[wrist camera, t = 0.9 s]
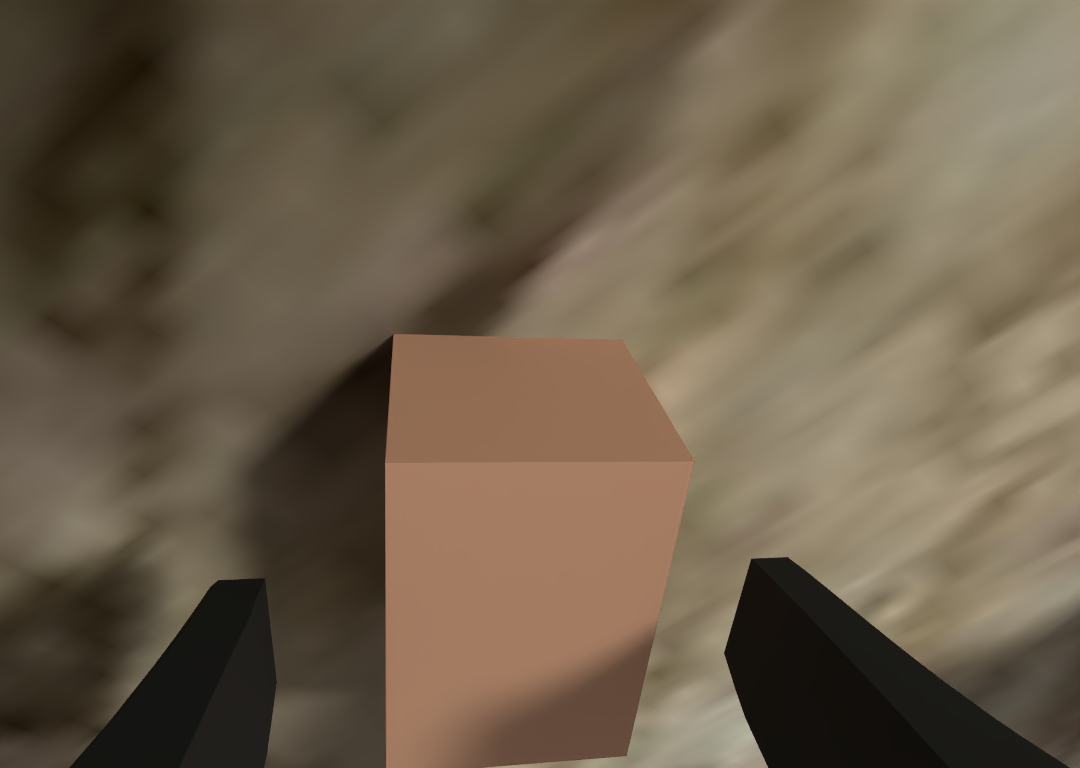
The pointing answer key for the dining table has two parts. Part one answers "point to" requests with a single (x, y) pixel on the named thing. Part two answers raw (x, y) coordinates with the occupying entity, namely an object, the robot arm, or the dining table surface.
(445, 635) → the terracotta block
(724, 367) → the dining table surface
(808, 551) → the dining table surface
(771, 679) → the robot arm
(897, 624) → the dining table surface
